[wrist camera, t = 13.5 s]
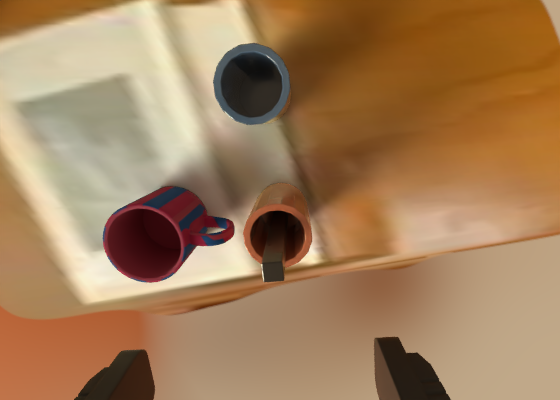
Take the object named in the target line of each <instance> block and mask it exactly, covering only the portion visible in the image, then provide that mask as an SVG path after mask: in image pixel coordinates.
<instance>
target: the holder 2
mask: <svg viewBox="0 0 560 400" xmlns="http://www.w3.org/2000/svg"><path fill="white" fill-rule="evenodd" d="M277 210H282V211H285V212H288V226H287V243H286V259H285V268H286V267H289V266H291V265H294V264H296V263H298V262H299V261H300V260H301V259H302V258H303V257H304V256H305V255H306V254H307V252H308V251H309V248H310V245H311V242H312V231H311V224H310V218H309V212H308V206H307V202H306V199H305V197H304V195H303V194H302V192H301V191H300V190H299V189H298V188H296V187H295V186H293V185H290V184H287V183H276V184H272V185H270V186H268V187H267V188H265V189H264V190H263V191H262V192H261V194H260V195H259V196H258V198H257V200H256V202H255V205H254V207H253V209H252V211H251V213H250V215H249V217H248V219H247V222H246V225H245V228H244V232H243V235H244V243H245V247H246V248H247V250H248V252H249V253H250V255H251V256H252V257H253V258H254V259H255V260H257V261H258V262H259V263H260V264H261V263H262V258H263V254H264V250H265V245H266V241H267V237H268V232H269V228H270V224H271V219H272V215H273V211H277Z"/></svg>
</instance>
